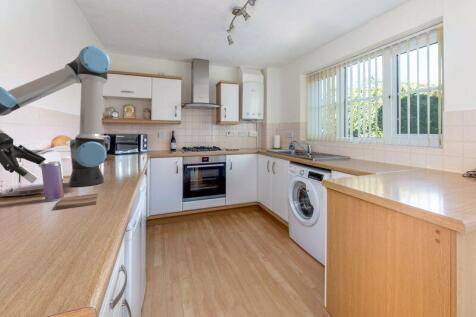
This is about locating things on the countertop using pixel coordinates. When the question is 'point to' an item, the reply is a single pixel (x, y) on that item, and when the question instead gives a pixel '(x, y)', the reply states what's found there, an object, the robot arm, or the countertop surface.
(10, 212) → the countertop surface
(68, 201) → the walnut trivet
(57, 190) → the beverage can
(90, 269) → the countertop surface
